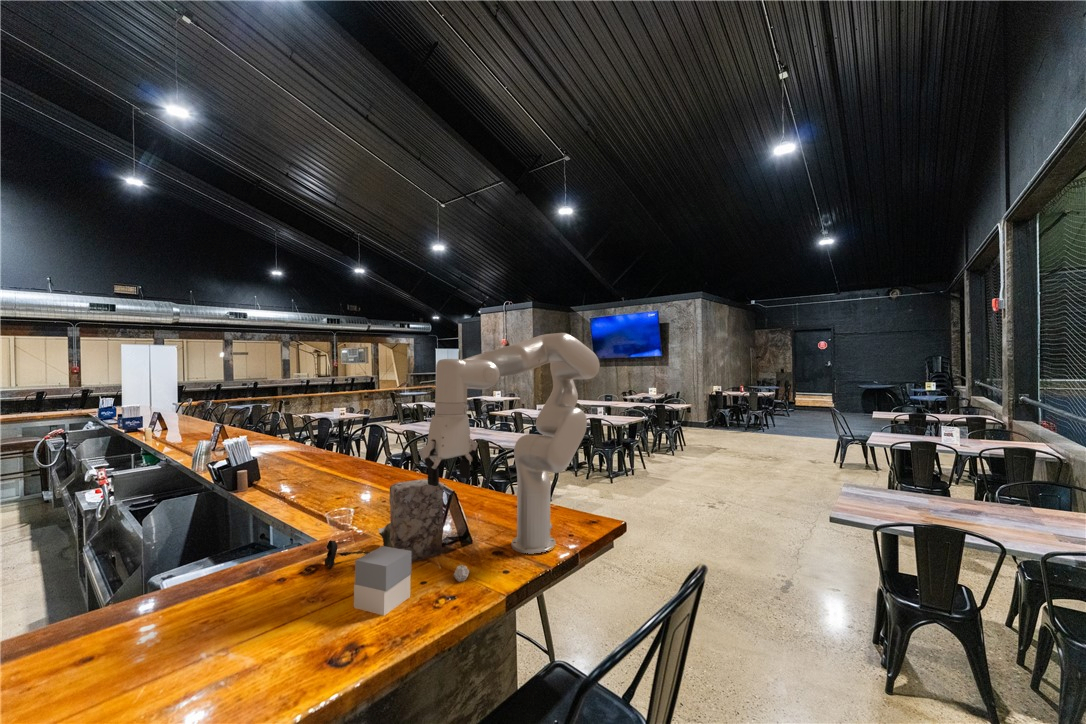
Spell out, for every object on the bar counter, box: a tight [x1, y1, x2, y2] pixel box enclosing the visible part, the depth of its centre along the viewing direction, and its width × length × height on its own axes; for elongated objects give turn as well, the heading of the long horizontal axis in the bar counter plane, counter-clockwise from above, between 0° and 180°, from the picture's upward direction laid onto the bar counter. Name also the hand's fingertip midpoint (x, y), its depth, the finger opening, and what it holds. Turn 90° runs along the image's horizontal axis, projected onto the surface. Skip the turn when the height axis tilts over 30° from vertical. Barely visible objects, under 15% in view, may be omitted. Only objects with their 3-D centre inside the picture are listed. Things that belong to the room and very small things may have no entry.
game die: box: [453, 564, 470, 583], centre depth 101 cm, size 4×4×3 cm
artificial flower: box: [324, 523, 391, 569], centre depth 115 cm, size 9×22×10 cm, turn 131°
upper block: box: [354, 545, 412, 591], centre depth 91 cm, size 8×8×5 cm
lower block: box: [353, 574, 412, 616], centre depth 91 cm, size 8×8×5 cm
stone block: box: [388, 478, 445, 563], centre depth 113 cm, size 13×7×20 cm, turn 128°
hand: (449, 481), depth 102 cm, fingers open, 9 cm apart
